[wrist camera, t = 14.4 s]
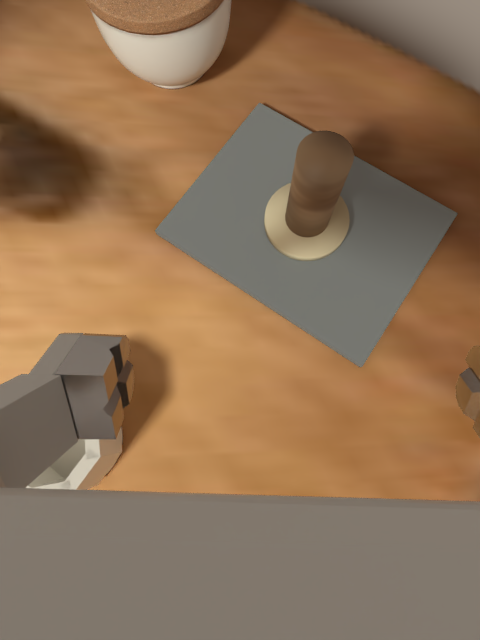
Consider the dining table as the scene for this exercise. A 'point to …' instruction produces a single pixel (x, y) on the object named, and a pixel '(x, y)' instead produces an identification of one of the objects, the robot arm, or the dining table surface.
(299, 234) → the brown peg on disc
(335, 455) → the dining table surface
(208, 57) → the lidded jar
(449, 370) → the dining table surface
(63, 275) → the dining table surface
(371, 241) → the mat
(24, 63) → the dining table surface
